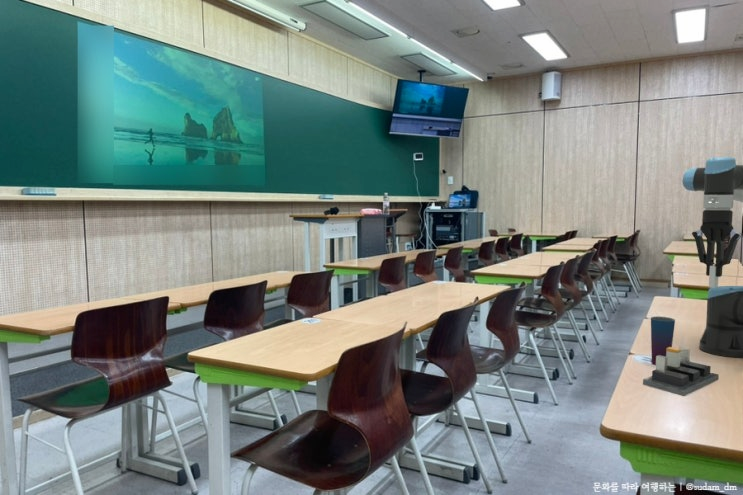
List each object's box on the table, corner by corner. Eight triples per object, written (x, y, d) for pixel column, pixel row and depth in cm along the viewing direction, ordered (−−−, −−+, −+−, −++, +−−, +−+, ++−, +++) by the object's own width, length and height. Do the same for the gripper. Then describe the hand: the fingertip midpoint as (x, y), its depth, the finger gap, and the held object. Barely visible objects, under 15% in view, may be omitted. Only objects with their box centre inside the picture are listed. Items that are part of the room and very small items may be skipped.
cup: (645, 364, 167) (648, 318, 166) (652, 359, 172) (654, 315, 171) (669, 369, 163) (672, 322, 161) (675, 364, 167) (677, 318, 166)
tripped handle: (668, 363, 155) (669, 346, 154) (680, 366, 152) (680, 349, 152) (665, 365, 153) (666, 348, 153) (676, 367, 151) (677, 350, 150)
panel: (678, 369, 162) (680, 344, 161) (718, 379, 153) (720, 352, 152) (642, 384, 149) (644, 356, 148) (683, 395, 140) (685, 366, 139)
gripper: (688, 209, 159) (684, 285, 161) (737, 209, 149) (732, 291, 151) (699, 209, 163) (695, 283, 166) (747, 209, 153) (743, 288, 155)
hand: (713, 286), depth 158 cm, fingers closed
